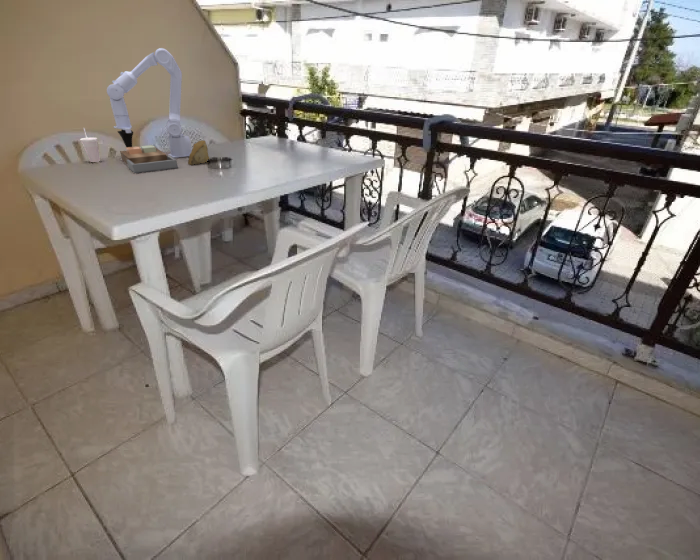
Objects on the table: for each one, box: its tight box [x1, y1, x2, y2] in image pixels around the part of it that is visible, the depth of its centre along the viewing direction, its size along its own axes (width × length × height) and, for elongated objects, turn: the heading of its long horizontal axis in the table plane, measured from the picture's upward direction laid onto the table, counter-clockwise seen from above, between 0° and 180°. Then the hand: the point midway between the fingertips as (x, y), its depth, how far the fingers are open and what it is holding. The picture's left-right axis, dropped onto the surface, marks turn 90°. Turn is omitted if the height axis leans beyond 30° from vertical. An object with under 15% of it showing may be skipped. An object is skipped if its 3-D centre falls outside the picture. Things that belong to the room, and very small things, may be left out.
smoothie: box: [79, 127, 101, 163], centre depth 162 cm, size 6×6×14 cm
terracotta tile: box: [125, 145, 142, 154], centre depth 165 cm, size 5×5×2 cm
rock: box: [187, 140, 210, 166], centre depth 169 cm, size 11×9×10 cm
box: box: [126, 155, 179, 174], centre depth 159 cm, size 17×10×4 cm, turn 129°
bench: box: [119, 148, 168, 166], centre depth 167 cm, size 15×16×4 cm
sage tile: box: [140, 144, 157, 153], centre depth 169 cm, size 5×5×2 cm
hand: (129, 147), depth 171 cm, fingers closed
